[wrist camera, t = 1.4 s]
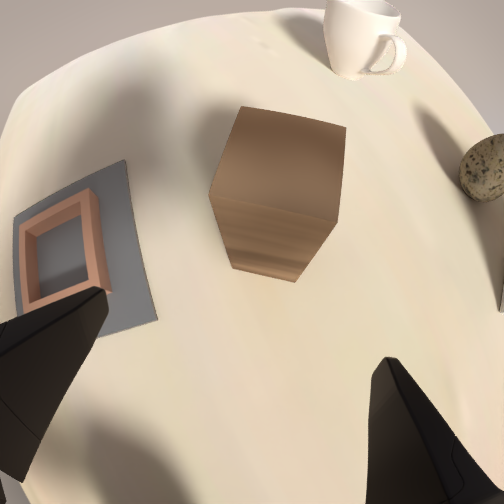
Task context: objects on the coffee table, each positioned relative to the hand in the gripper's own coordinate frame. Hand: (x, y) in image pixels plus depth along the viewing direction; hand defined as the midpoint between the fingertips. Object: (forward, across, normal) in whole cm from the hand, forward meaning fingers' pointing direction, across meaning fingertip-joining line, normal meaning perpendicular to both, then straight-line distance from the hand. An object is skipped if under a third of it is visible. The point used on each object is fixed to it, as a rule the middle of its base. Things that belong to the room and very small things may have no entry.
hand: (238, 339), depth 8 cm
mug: (+32, -6, -13) cm, 35 cm away
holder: (+10, +18, +8) cm, 23 cm away
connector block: (+14, 0, +4) cm, 15 cm away
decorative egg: (+23, -21, -4) cm, 32 cm away
